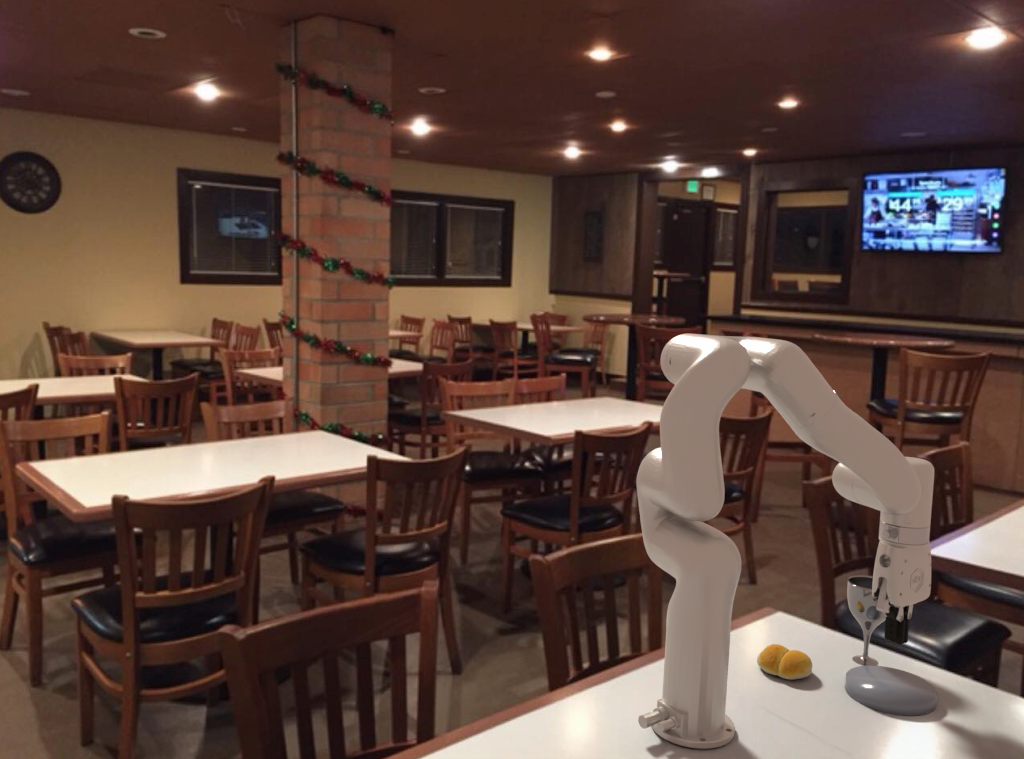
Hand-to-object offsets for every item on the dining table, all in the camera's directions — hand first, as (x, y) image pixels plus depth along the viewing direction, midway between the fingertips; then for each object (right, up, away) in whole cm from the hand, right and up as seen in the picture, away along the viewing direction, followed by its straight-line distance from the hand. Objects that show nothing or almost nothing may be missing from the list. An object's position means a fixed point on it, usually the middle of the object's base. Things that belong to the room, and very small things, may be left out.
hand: (895, 640), depth 144 cm
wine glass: (0, -8, +14) cm, 16 cm away
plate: (-1, -9, +1) cm, 9 cm away
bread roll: (-12, -9, +8) cm, 17 cm away
